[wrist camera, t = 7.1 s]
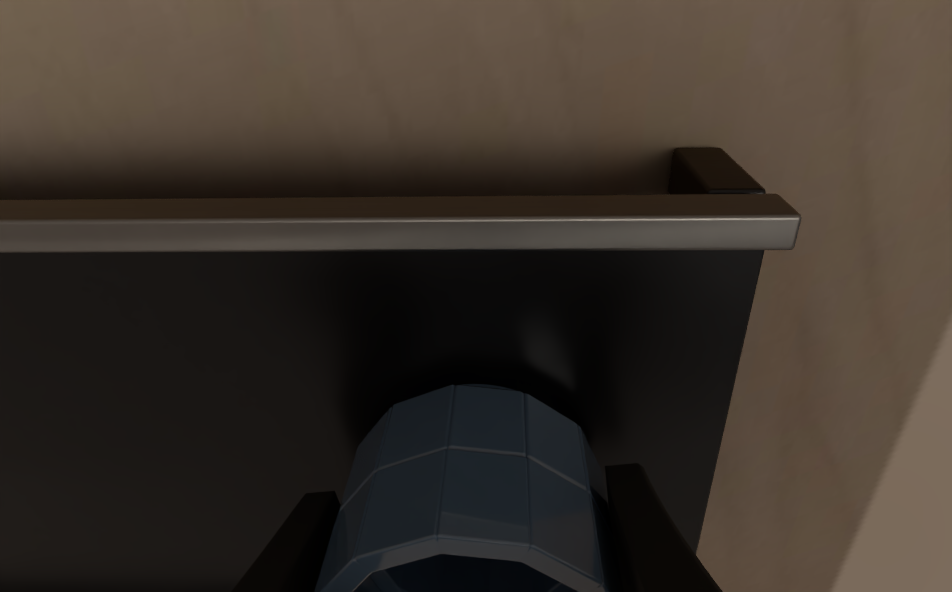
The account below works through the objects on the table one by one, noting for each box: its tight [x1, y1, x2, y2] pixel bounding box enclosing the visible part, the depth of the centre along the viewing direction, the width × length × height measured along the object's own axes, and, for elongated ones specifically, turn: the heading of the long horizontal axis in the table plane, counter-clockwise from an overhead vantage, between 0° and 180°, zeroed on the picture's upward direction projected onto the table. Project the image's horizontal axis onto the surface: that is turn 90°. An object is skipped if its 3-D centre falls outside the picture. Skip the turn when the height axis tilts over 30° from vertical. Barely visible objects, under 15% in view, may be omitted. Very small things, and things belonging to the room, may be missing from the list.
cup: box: [314, 383, 624, 592], centre depth 12 cm, size 5×5×4 cm
